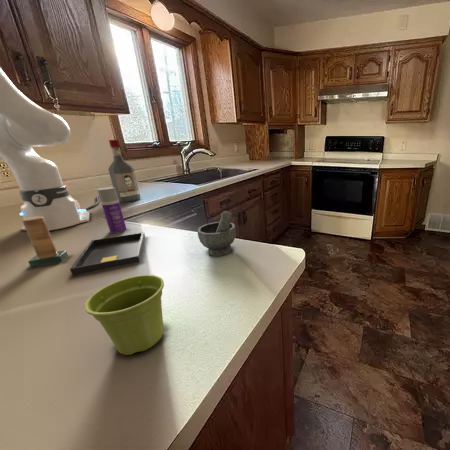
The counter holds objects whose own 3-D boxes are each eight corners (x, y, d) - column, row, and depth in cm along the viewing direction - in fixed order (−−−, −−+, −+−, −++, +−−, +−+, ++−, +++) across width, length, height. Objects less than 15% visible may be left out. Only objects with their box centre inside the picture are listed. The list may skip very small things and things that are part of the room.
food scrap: (104, 262, 61) (102, 257, 61) (118, 259, 63) (117, 255, 62) (101, 267, 59) (99, 262, 58) (116, 264, 60) (115, 260, 60)
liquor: (115, 200, 128) (98, 140, 118) (134, 197, 135) (119, 140, 125) (123, 202, 123) (106, 140, 113) (142, 199, 130) (128, 139, 120)
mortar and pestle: (194, 253, 66) (186, 210, 62) (222, 241, 74) (217, 202, 70) (220, 263, 60) (213, 217, 56) (248, 250, 67) (244, 208, 63)
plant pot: (88, 354, 35) (67, 304, 32) (147, 313, 44) (135, 270, 41) (133, 374, 32) (115, 321, 29) (187, 325, 40) (177, 280, 37)
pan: (93, 246, 72) (91, 240, 71) (145, 238, 78) (144, 231, 77) (72, 277, 56) (69, 269, 55) (140, 263, 61) (138, 255, 61)
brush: (39, 261, 64) (20, 217, 60) (68, 256, 66) (52, 214, 62) (31, 268, 60) (10, 222, 56) (62, 263, 62) (45, 218, 58)
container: (118, 234, 81) (105, 190, 76) (106, 234, 82) (93, 189, 77) (130, 229, 85) (118, 187, 80) (119, 229, 86) (106, 186, 81)
